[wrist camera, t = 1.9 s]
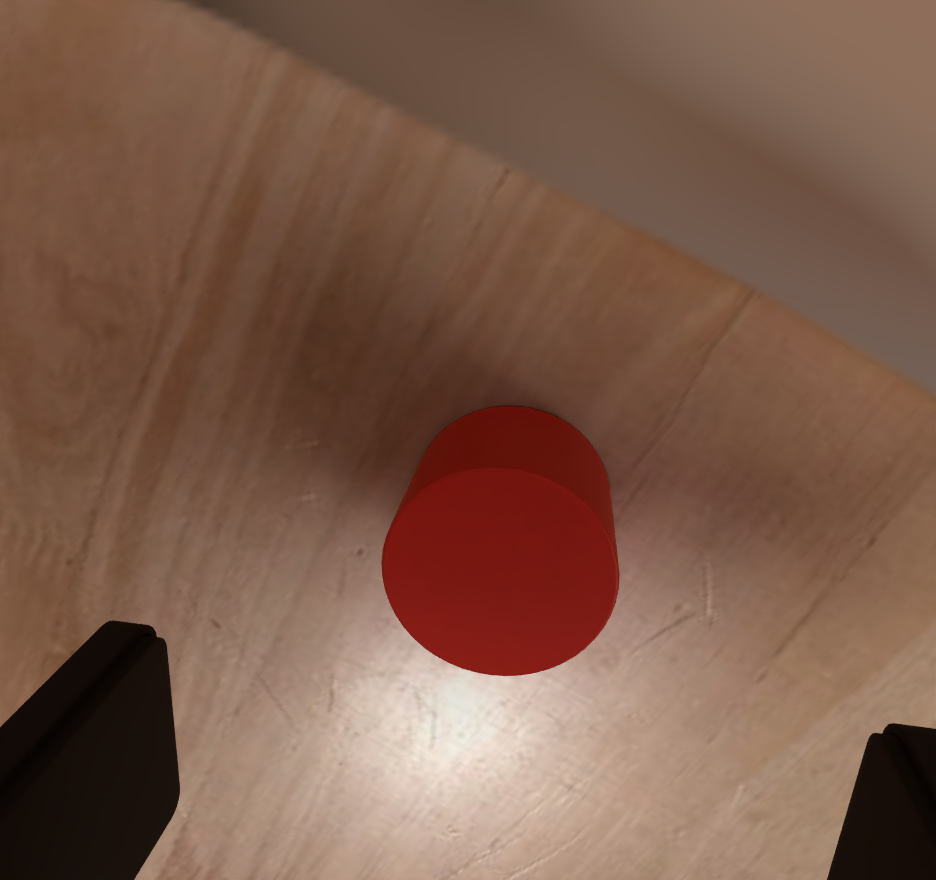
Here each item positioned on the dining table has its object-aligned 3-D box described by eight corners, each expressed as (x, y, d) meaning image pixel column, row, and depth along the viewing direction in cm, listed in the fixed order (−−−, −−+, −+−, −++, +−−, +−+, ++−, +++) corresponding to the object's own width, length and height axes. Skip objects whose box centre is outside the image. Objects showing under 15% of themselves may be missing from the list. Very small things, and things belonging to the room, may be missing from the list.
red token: (418, 396, 17) (383, 455, 14) (622, 415, 17) (634, 480, 14) (412, 572, 19) (379, 662, 16) (598, 593, 18) (604, 690, 15)
